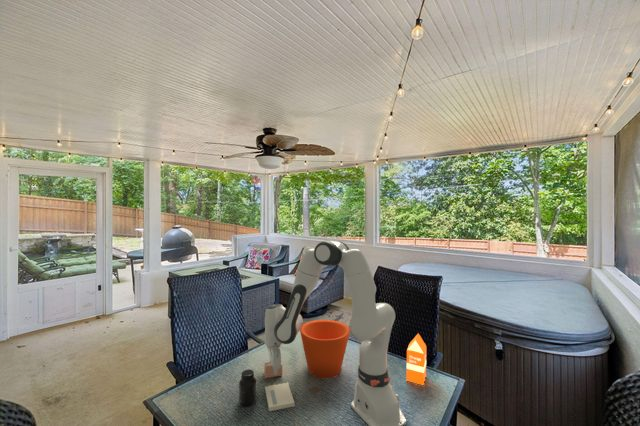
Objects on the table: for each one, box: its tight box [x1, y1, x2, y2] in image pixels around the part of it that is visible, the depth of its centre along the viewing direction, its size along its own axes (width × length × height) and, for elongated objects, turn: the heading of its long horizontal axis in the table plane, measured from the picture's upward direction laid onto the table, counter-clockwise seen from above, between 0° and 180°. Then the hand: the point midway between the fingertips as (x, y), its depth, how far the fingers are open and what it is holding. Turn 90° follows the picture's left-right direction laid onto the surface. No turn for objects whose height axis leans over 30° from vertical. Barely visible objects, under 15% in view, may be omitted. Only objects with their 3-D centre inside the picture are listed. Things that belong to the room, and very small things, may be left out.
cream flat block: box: [264, 381, 295, 412], centre depth 115 cm, size 14×10×2 cm
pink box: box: [263, 361, 283, 379], centre depth 132 cm, size 4×8×5 cm, turn 108°
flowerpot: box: [299, 319, 351, 380], centre depth 137 cm, size 25×25×20 cm
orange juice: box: [406, 332, 427, 386], centre depth 130 cm, size 8×9×20 cm
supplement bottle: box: [238, 369, 257, 408], centre depth 112 cm, size 7×7×12 cm
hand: (273, 368), depth 131 cm, fingers open, 8 cm apart
